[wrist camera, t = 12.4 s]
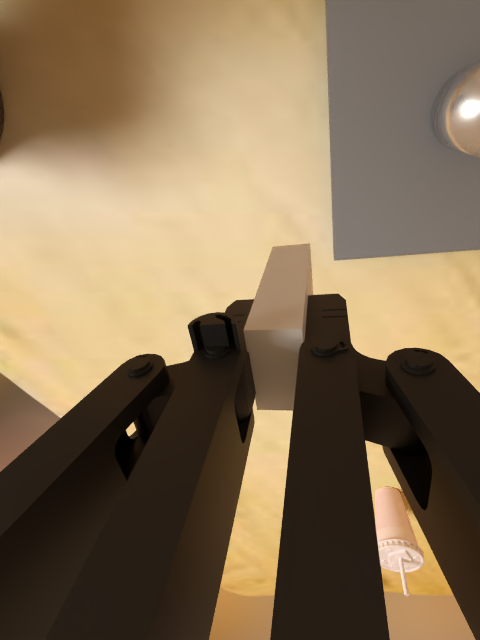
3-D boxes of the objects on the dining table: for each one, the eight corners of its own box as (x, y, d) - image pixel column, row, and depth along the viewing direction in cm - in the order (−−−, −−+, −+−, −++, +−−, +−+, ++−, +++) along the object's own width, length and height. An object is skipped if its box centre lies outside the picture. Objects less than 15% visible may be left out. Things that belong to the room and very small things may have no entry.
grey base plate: (333, 253, 39) (334, 261, 37) (324, -46, 28) (324, -57, 26) (577, 234, 34) (592, 242, 32) (689, -147, 22) (724, -171, 20)
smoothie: (416, 487, 54) (442, 593, 43) (401, 511, 58) (421, 615, 46) (373, 476, 55) (387, 577, 43) (360, 500, 58) (370, 600, 47)
